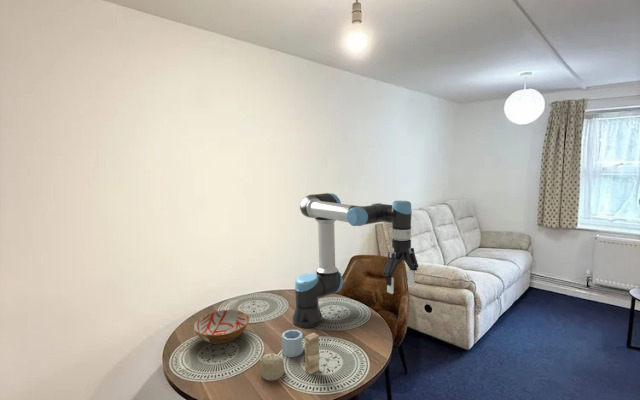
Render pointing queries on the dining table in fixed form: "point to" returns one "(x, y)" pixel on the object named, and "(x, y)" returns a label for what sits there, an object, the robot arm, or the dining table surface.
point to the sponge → (271, 367)
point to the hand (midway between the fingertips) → (400, 288)
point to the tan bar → (311, 353)
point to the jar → (292, 343)
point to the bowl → (221, 326)
